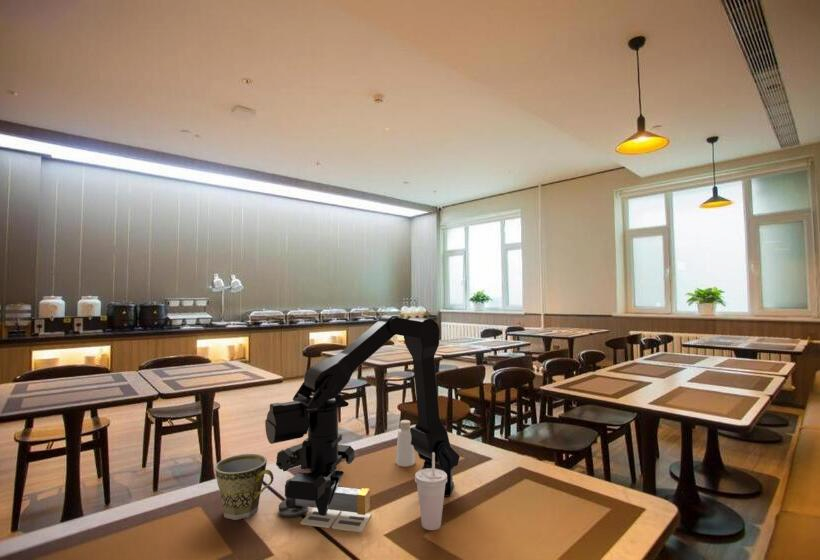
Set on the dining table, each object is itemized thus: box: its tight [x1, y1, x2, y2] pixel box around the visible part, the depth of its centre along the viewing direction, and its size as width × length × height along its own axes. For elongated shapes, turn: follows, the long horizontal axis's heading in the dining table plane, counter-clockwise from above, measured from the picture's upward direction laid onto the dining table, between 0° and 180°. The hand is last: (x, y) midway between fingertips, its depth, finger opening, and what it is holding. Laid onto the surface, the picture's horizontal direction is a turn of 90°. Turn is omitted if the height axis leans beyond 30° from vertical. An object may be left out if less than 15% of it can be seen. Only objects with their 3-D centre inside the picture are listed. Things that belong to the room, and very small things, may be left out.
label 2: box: [331, 511, 372, 533], centre depth 82 cm, size 6×6×1 cm
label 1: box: [300, 507, 342, 529], centre depth 84 cm, size 6×6×1 cm
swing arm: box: [285, 477, 371, 515], centre depth 85 cm, size 18×3×4 cm, turn 77°
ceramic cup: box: [214, 453, 274, 521], centre depth 86 cm, size 13×10×10 cm
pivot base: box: [278, 499, 309, 519], centre depth 87 cm, size 6×6×1 cm
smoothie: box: [414, 452, 447, 531], centre depth 81 cm, size 6×6×14 cm
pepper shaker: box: [394, 419, 416, 468], centre depth 111 cm, size 5×5×11 cm
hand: (322, 514), depth 80 cm, fingers closed
